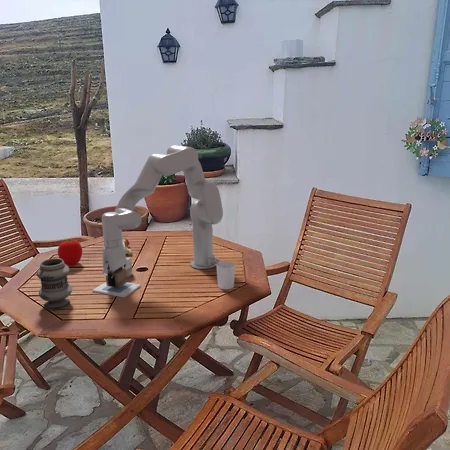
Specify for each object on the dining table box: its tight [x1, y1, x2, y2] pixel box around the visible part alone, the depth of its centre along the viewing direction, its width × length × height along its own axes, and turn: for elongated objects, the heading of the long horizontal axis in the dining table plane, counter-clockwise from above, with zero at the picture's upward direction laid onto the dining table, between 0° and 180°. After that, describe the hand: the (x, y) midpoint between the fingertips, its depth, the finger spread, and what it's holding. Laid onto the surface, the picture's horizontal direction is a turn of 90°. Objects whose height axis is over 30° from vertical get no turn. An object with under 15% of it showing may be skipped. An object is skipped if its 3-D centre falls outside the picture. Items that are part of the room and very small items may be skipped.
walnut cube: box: [105, 268, 128, 288], centre depth 184 cm, size 6×6×6 cm
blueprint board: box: [92, 281, 142, 298], centre depth 186 cm, size 16×12×1 cm
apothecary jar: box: [36, 257, 73, 311], centre depth 170 cm, size 12×12×18 cm
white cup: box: [215, 260, 236, 290], centre depth 186 cm, size 8×8×10 cm
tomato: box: [57, 239, 83, 267], centre depth 212 cm, size 11×11×13 cm
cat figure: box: [122, 237, 134, 257], centre depth 235 cm, size 10×9×25 cm
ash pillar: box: [125, 256, 133, 278], centre depth 199 cm, size 5×5×8 cm
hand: (116, 282), depth 185 cm, fingers closed on walnut cube, 5 cm apart
